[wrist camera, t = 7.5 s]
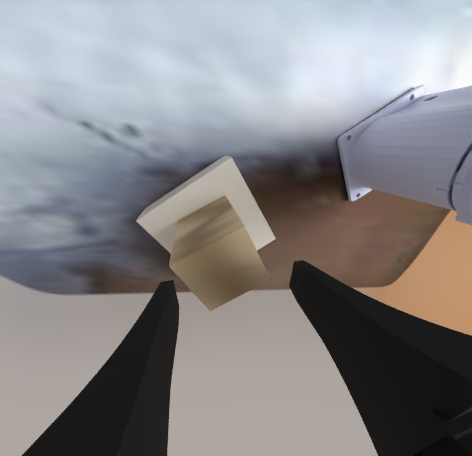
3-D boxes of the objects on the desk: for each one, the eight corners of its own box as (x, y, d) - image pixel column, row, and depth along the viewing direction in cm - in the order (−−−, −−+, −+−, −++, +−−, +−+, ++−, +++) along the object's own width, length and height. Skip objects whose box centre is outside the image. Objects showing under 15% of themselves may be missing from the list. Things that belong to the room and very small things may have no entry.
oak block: (225, 195, 14) (244, 226, 9) (245, 235, 16) (270, 279, 11) (177, 220, 14) (168, 266, 9) (204, 257, 16) (210, 311, 11)
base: (225, 155, 15) (231, 157, 13) (264, 226, 20) (275, 238, 17) (145, 208, 16) (136, 220, 13) (201, 266, 20) (202, 284, 18)
